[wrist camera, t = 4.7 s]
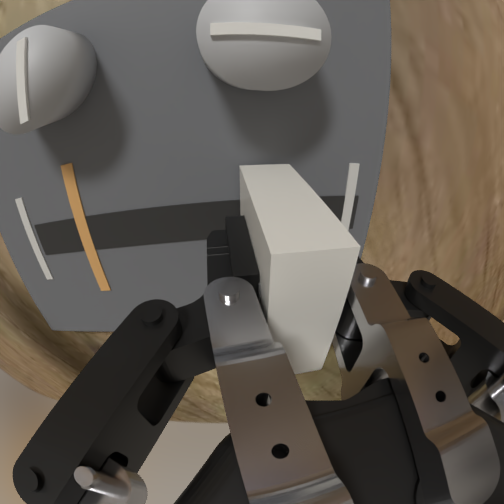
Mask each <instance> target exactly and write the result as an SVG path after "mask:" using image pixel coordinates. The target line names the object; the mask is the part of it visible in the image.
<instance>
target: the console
mask: <svg viewBox="0 0 504 504" xmlns="http://www.w3.org/2000/svg"><path fill="white" fill-rule="evenodd" d="M390 74H391V14H390V0H72V1H70V2H67V3H65V4H63V5H60V6H58V7H56V8H54V9H52V10H50V11H47V12H45V13H43V14H41V15H39V16H38V17H36V18H34V19H32V20H30V21H28V22H27V23H25V24H23V25H21V26H20V27H18V28H16V29H15V30H13V31H11V32H10V33H8V34H7V35H5V36H4V37H2V38H1V39H0V232H1V235H2V237H3V240H4V242H5V244H6V247H7V249H8V251H9V253H10V256H11V258H12V260H13V262H14V264H15V266H16V268H17V270H18V272H19V274H20V276H21V278H22V280H23V282H24V284H25V286H26V288H27V290H28V291H29V293H30V295H31V297H32V298H33V300H34V302H35V304H36V305H37V307H38V309H39V310H40V312H41V313H42V315H43V317H44V318H45V320H46V321H47V323H48V324H49V326H50V327H51V329H52V330H58V331H115V330H116V329H117V328H118V326H119V325H120V324H121V323H122V322H123V321H124V319H125V318H126V317H127V316H128V315H129V314H130V312H131V311H132V310H133V309H134V308H135V307H136V306H138V305H139V304H141V303H143V302H145V301H148V300H154V299H160V300H165V301H168V302H170V303H172V304H173V305H174V306H175V307H176V308H179V307H182V306H185V305H188V304H190V303H193V302H194V301H196V300H198V299H199V298H200V297H201V296H202V295H203V294H204V290H205V288H206V287H207V237H208V236H209V234H210V233H211V232H212V231H214V230H226V228H225V217H228V216H241V215H240V169H239V166H241V165H266V164H290V165H291V166H292V167H293V168H294V169H295V171H296V172H297V173H298V174H299V175H300V176H301V177H302V178H303V179H304V180H305V181H306V183H307V184H308V185H309V186H310V187H311V188H312V189H313V190H314V191H315V193H316V194H317V195H318V196H319V197H320V198H321V199H322V201H323V202H324V203H325V204H326V205H327V206H328V207H329V209H330V210H331V211H332V212H333V213H334V215H335V216H336V217H337V218H338V219H339V221H340V222H341V223H342V224H343V225H344V227H345V228H346V229H347V230H348V231H349V233H350V234H351V235H352V236H353V238H354V239H355V240H356V241H357V243H358V244H359V245H360V251H359V255H358V256H359V258H360V259H361V256H362V252H363V248H364V244H365V240H366V236H367V232H368V228H369V223H370V219H371V214H372V210H373V205H374V200H375V195H376V190H377V185H378V179H379V174H380V168H381V161H382V155H383V148H384V141H385V133H386V124H387V115H388V104H389V91H390Z"/></svg>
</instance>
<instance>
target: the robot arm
mask: <svg viewBox="0 0 504 504" xmlns="http://www.w3.org/2000/svg"><path fill="white" fill-rule="evenodd" d="M225 228H226V230H214V231H212V232H211V233H210V234H209V236H208V237H207V287H206V288H205V290H204V294H203V295H202V296H201V297H200V298H199V299H198V300H196V301H194V302H193V303H190V304H188V305H185V306H182V307H179V308H176V307H175V306H174V305H173V304H172V303H170V302H168V301H165V300H160V299H154V300H148V301H145V302H143V303H141V304H139V305H138V306H136V307H135V308H134V309H133V310H132V311H131V312H130V314H129V315H128V316H127V317H126V318H125V319H124V321H123V322H122V323H121V324H120V325H119V326H118V328H117V329H116V330H115V331H114V332H113V333H112V335H111V336H110V337H109V338H108V339H107V341H106V342H105V343H104V344H103V345H102V347H101V348H100V349H99V350H98V351H97V353H96V354H95V355H94V356H93V358H92V359H91V360H90V361H89V362H88V364H87V365H86V366H85V367H84V369H83V370H82V371H81V372H80V374H79V375H78V376H77V378H76V379H75V380H74V381H73V383H72V384H71V385H70V387H69V388H68V389H67V390H66V392H65V393H64V394H63V396H62V397H61V398H60V400H59V401H58V402H57V404H56V405H55V406H54V408H53V409H52V410H51V412H50V413H49V414H48V416H47V417H46V419H45V420H44V421H43V423H42V424H41V426H40V427H39V428H38V430H37V431H36V433H35V434H34V436H33V437H32V438H31V440H30V441H29V443H28V444H27V446H26V447H25V449H24V450H23V452H22V453H21V455H20V456H19V458H18V460H17V461H16V463H15V465H14V468H13V482H14V485H15V488H16V490H17V492H18V494H19V495H20V497H21V498H22V499H23V501H25V502H26V503H27V504H145V502H146V500H147V488H146V485H145V483H144V481H143V479H142V478H141V477H140V476H139V475H138V474H137V473H138V471H139V469H140V468H141V466H142V464H143V463H144V461H145V460H146V458H147V456H148V455H149V453H150V451H151V450H152V448H153V446H154V445H155V443H156V441H157V440H158V438H159V436H160V435H161V433H162V431H163V430H164V428H165V426H166V425H167V423H168V421H169V420H170V418H171V416H172V415H173V413H174V411H175V410H176V408H177V406H178V405H179V403H180V401H181V399H182V398H183V396H184V394H185V393H186V391H187V389H188V388H189V386H190V384H191V382H192V381H193V379H194V376H196V375H199V374H201V373H204V372H207V371H209V370H212V369H215V368H216V370H217V374H218V379H219V384H220V389H221V394H222V398H223V403H224V407H225V412H226V416H227V420H228V425H229V429H230V434H229V435H227V436H226V437H225V438H224V439H223V440H222V441H221V442H220V443H219V445H218V446H217V447H216V448H215V450H214V451H213V453H212V454H211V455H210V457H209V458H208V460H207V461H206V462H205V464H204V465H203V466H202V468H201V469H200V470H199V472H198V473H197V474H196V476H195V477H194V478H193V480H192V481H191V482H190V484H189V485H188V486H187V488H186V489H185V490H184V491H183V493H182V494H181V495H180V496H179V498H178V499H177V500H176V502H175V503H174V504H504V323H503V322H502V321H501V320H500V319H498V318H497V317H495V316H494V315H493V314H491V313H490V312H489V311H487V310H486V309H484V308H483V307H482V306H480V305H479V304H477V303H476V302H475V301H473V300H472V299H470V298H469V297H467V296H466V295H464V294H463V293H461V292H460V291H458V290H457V289H455V288H454V287H452V286H451V285H449V284H448V283H446V282H445V281H443V280H442V279H440V278H438V277H437V276H435V275H434V274H432V273H430V272H427V271H423V270H417V271H414V272H412V273H411V275H410V277H409V279H408V282H401V281H392V280H389V279H388V277H387V276H386V274H385V273H384V272H383V271H382V270H381V269H379V268H378V267H376V266H373V265H370V264H365V263H363V262H362V260H361V259H360V258H359V256H358V259H357V262H356V266H355V270H354V273H353V277H352V280H351V284H350V287H349V291H348V294H347V297H346V301H345V304H344V307H343V310H342V313H341V316H340V319H339V322H338V325H337V328H336V331H335V334H334V337H333V340H332V343H333V347H334V350H335V354H336V357H337V361H338V364H339V368H340V372H341V376H342V388H341V399H342V400H341V401H308V400H305V399H304V396H303V394H302V391H301V389H300V387H299V384H298V382H297V379H296V377H295V374H294V372H293V369H292V367H291V364H290V362H289V359H288V357H287V354H286V352H285V350H284V348H283V346H282V344H281V343H280V342H276V343H275V342H274V341H273V339H272V336H271V333H270V331H269V328H268V325H267V323H266V320H265V317H264V315H263V312H262V309H261V307H260V304H259V301H258V283H259V276H260V274H259V270H258V266H257V263H256V259H255V255H254V251H253V247H252V243H251V240H250V236H249V232H248V228H247V224H246V220H245V217H244V215H242V216H228V217H225ZM431 317H432V318H434V319H435V320H436V321H438V322H439V323H441V324H442V325H443V326H445V327H446V328H448V329H449V330H450V331H452V332H453V333H455V334H456V335H457V336H458V337H459V338H460V339H459V341H458V342H457V343H456V344H455V345H447V344H446V343H444V342H443V341H442V340H440V339H439V338H438V336H437V334H436V332H435V330H434V329H433V327H432V325H431V323H430V322H429V320H430V318H431Z"/></svg>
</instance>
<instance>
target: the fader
mask: <svg viewBox="0 0 504 504" xmlns="http://www.w3.org/2000/svg"><path fill="white" fill-rule="evenodd" d="M239 169H240V215H241V216H242V215H244V217H245V220H246V224H247V228H248V232H249V236H250V240H251V243H252V247H253V251H254V255H255V259H256V263H257V266H258V270H259V274H260V276H259V283H258V301H259V304H260V307H261V309H262V312H263V315H264V317H265V320H266V323H267V325H268V328H269V331H270V333H271V336H272V339H273V341H274V342H275V343H276V342H280V343H281V344H282V346H283V348H284V350H285V352H286V354H287V357H288V359H289V362H290V364H291V367H292V369H293V372H294V374H300V373H305V372H310V371H315V370H320V369H322V367H323V364H324V361H325V359H326V356H327V353H328V351H329V348H330V345H331V343H332V340H333V337H334V334H335V331H336V328H337V325H338V322H339V319H340V316H341V313H342V310H343V307H344V304H345V301H346V297H347V294H348V291H349V287H350V284H351V280H352V277H353V273H354V270H355V266H356V262H357V259H358V255H359V251H360V245H359V244H358V243H357V241H356V240H355V239H354V238H353V236H352V235H351V234H350V233H349V231H348V230H347V229H346V228H345V227H344V225H343V224H342V223H341V222H340V221H339V219H338V218H337V217H336V216H335V215H334V213H333V212H332V211H331V210H330V209H329V207H328V206H327V205H326V204H325V203H324V202H323V201H322V199H321V198H320V197H319V196H318V195H317V194H316V193H315V191H314V190H313V189H312V188H311V187H310V186H309V185H308V184H307V183H306V181H305V180H304V179H303V178H302V177H301V176H300V175H299V174H298V173H297V172H296V171H295V169H294V168H293V167H292V166H291V165H290V164H266V165H241V166H239Z"/></svg>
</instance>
